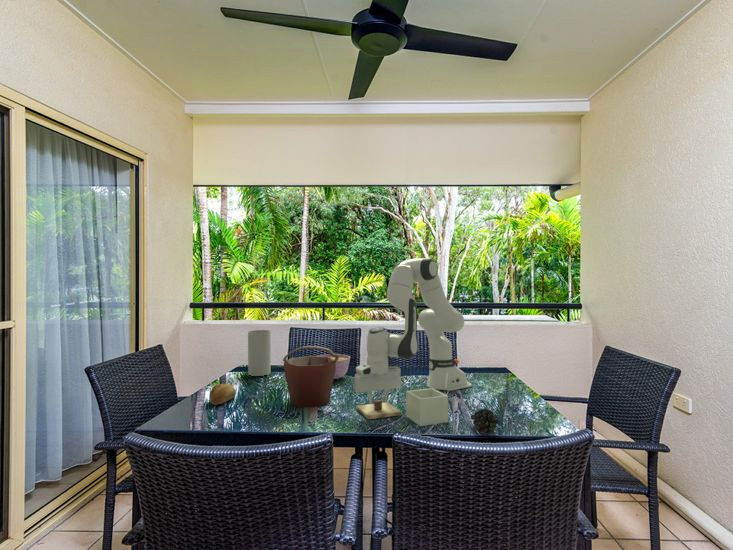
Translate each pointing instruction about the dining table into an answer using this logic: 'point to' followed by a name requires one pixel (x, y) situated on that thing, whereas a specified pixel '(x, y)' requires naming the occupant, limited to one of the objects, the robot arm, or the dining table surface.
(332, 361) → the bucket
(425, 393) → the bin
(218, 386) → the bread roll
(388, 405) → the lid
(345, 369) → the bowl of food
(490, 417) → the pine cone
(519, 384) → the dining table surface
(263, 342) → the cylinder vase
